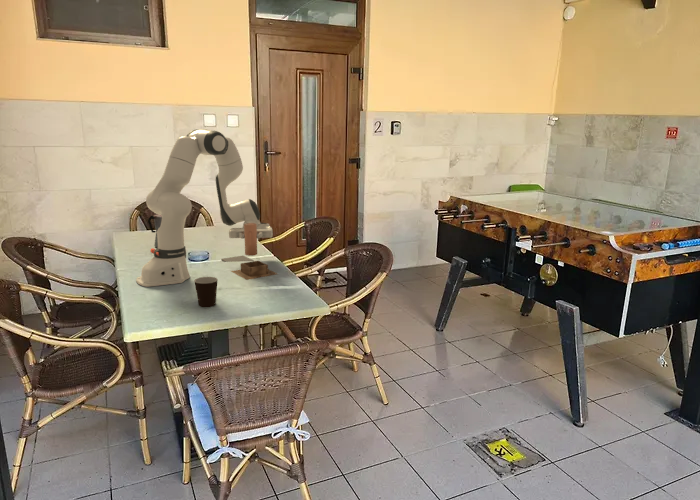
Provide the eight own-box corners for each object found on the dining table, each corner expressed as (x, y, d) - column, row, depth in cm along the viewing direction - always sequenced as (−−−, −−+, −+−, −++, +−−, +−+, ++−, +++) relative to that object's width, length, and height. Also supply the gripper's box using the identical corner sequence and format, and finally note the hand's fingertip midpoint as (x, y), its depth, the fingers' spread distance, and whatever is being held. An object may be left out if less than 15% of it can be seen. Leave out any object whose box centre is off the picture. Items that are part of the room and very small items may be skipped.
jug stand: (246, 282, 232) (246, 271, 230) (230, 273, 244) (230, 262, 243) (278, 276, 241) (278, 265, 240) (261, 268, 253) (261, 257, 252)
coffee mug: (212, 309, 199) (211, 284, 196) (191, 307, 200) (190, 282, 198) (225, 299, 210) (224, 275, 207) (205, 297, 211) (204, 273, 209)
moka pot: (179, 245, 295) (177, 210, 290) (156, 250, 282) (154, 214, 277) (168, 242, 300) (166, 208, 295) (145, 248, 287) (142, 212, 282)
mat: (231, 265, 257) (231, 264, 256) (221, 260, 266) (221, 258, 266) (253, 262, 264) (253, 260, 264) (243, 256, 273) (243, 255, 273)
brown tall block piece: (245, 252, 246) (244, 223, 242) (257, 252, 247) (256, 223, 243) (244, 257, 238) (243, 226, 235) (257, 256, 239) (256, 226, 236)
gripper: (229, 224, 252) (227, 230, 238) (272, 223, 255) (272, 229, 242) (229, 236, 253) (227, 243, 240) (272, 236, 256) (272, 242, 243)
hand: (250, 236), depth 241 cm, fingers closed on brown tall block piece, 6 cm apart
